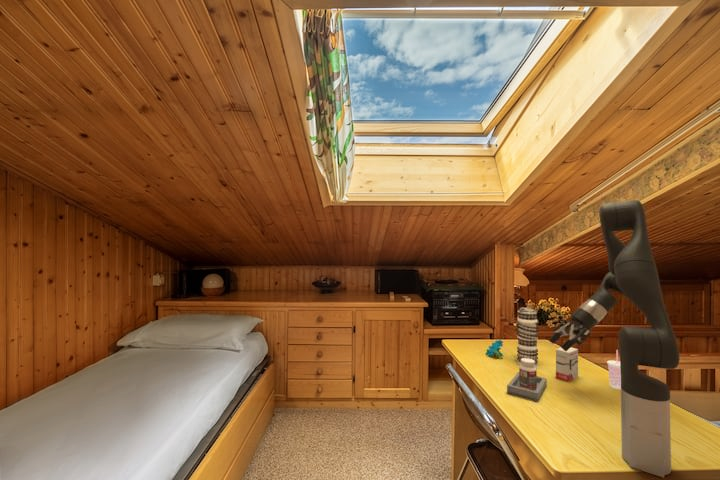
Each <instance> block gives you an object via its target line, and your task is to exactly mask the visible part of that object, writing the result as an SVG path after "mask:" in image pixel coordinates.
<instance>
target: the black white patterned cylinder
mask: <svg viewBox="0 0 720 480" xmlns="http://www.w3.org/2000/svg"><path fill="white" fill-rule="evenodd" d="M537 315H538V312H537V311H536V310H535V308H531V307H526V306H524V307H520V308H519V310H517V319H516V321H515V323H516V324H515V326H516V337H517V347H516V349H517V350H516V352H517V354H516V360H517V362H516V363H517V365H519V366H520V365H521V364H522V363H521V359H522V358H528V359H532V360H534V361H535V365H534V366H535V367H536V368H538V367H539V357H538V356H539V353H538V352H539V350H538V345H537V344H538V342H537V341H538V340H539V338H538V337H539V334H537V333H539V332H540V331H539V330H538V329H539V324H540V322H538V319H537V317H538V316H537Z"/></svg>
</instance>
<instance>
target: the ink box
mask: <svg viewBox="0 0 720 480" xmlns="http://www.w3.org/2000/svg"><path fill="white" fill-rule="evenodd" d="M578 378H579V349H578V348H576V347H575V348H574V347H572V346H571V347H570V348H569V349H568V350H567V351H564V350H563V349H562V348H561V346H560V347H558V348H556V349H555V379H557V380H560V381H564V382H567V383H569V382H572V381H573V380H577V379H578Z"/></svg>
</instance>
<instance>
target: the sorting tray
mask: <svg viewBox="0 0 720 480" xmlns="http://www.w3.org/2000/svg"><path fill="white" fill-rule="evenodd" d="M547 380H548V379H547V378H546V377H544V376H543V377H541V376H537V388H536V389H535V390H528V389H525V388H522V387H521V386H520V384H519V371H517V373H516V374H515V375H514V376H513V377H512V379H511V380H510V381H509V382H508V384H507V385H506V394H508V395H511V396H513V397H514V396H515V397H518V398H521V399H526V400H530V401H532V402H536V403H539V401H540V400H541V398H542V396H543V394H544V392H545V390H546V389H547V386H548V385H547V383H548V381H547Z"/></svg>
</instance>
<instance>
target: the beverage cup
mask: <svg viewBox="0 0 720 480" xmlns="http://www.w3.org/2000/svg"><path fill="white" fill-rule="evenodd" d="M615 351H616V352H615V353H616V354H615V355H616V357H615V358H616V360H614V359H613V360H611V359H610V360H607V361H606V362H607V366H608V378H609V386H610V387H611V389H612V388H613V389H616V390H619V391H621V369H620V360H619V349H616V350H615Z"/></svg>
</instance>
